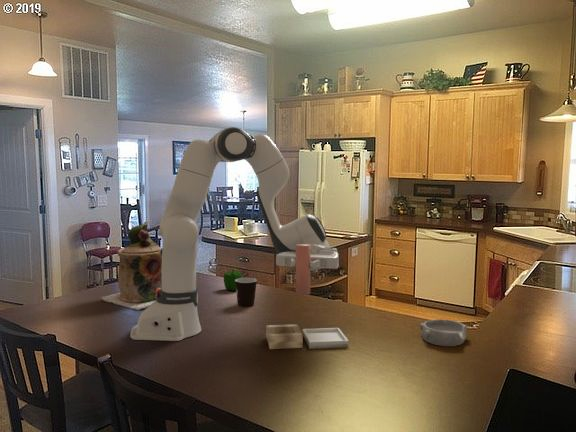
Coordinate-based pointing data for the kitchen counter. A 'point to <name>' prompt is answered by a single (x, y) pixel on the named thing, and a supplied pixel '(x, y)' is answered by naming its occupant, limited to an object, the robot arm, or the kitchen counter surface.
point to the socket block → (284, 336)
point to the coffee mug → (245, 291)
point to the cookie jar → (138, 271)
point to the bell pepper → (231, 279)
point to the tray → (325, 338)
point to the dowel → (302, 269)
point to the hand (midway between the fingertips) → (302, 265)
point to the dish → (443, 332)
